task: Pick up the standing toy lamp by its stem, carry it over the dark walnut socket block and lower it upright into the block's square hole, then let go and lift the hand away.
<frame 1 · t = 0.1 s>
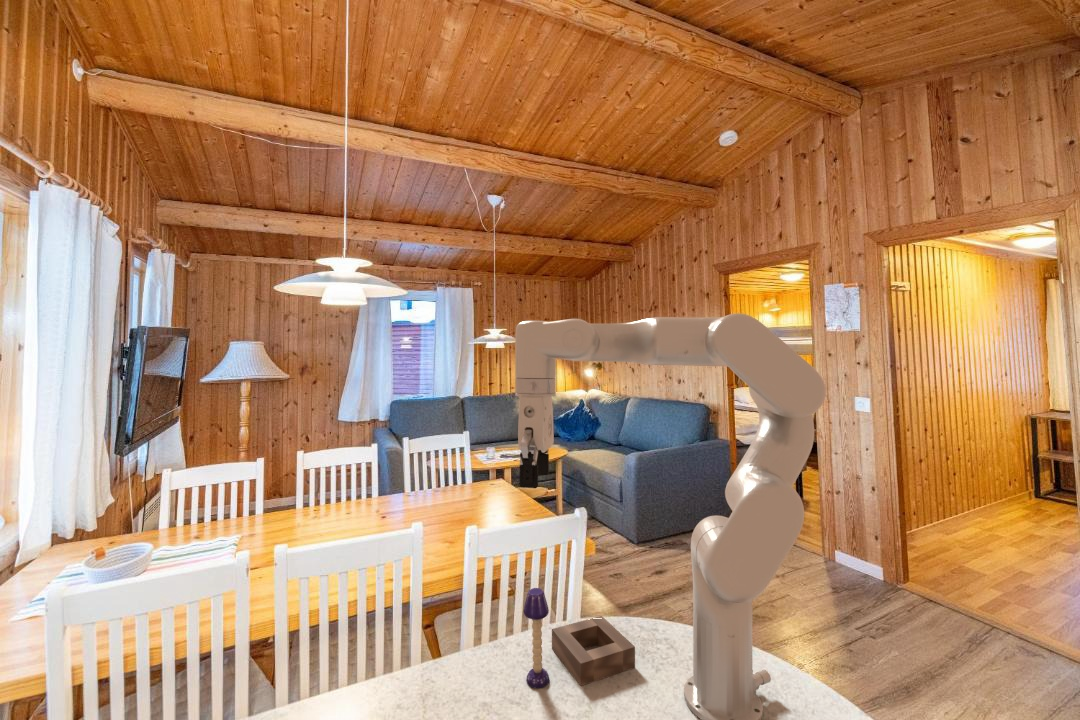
hand: (534, 480, 85), 37 cm above the table, tool pointing down, fingers open, 9 cm apart
toy lamp: (536, 682, 85), on the table
socket block: (592, 657, 92), on the table
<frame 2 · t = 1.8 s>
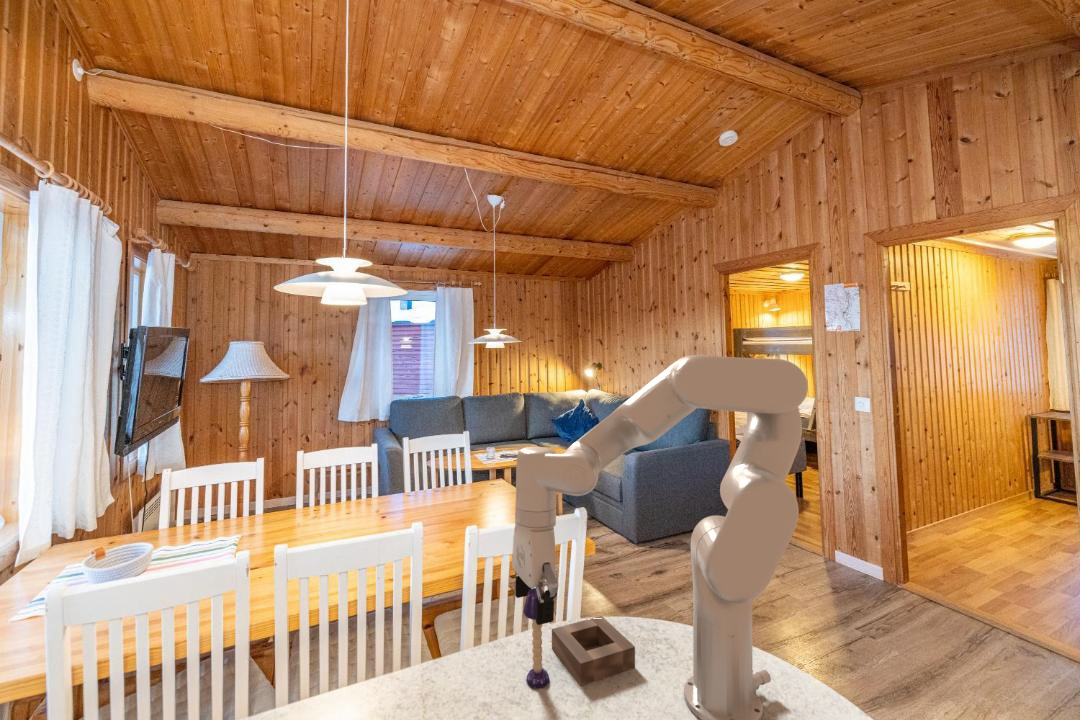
hand: (533, 608, 85), 14 cm above the table, tool pointing down, fingers open, 9 cm apart
nothing on the table moved.
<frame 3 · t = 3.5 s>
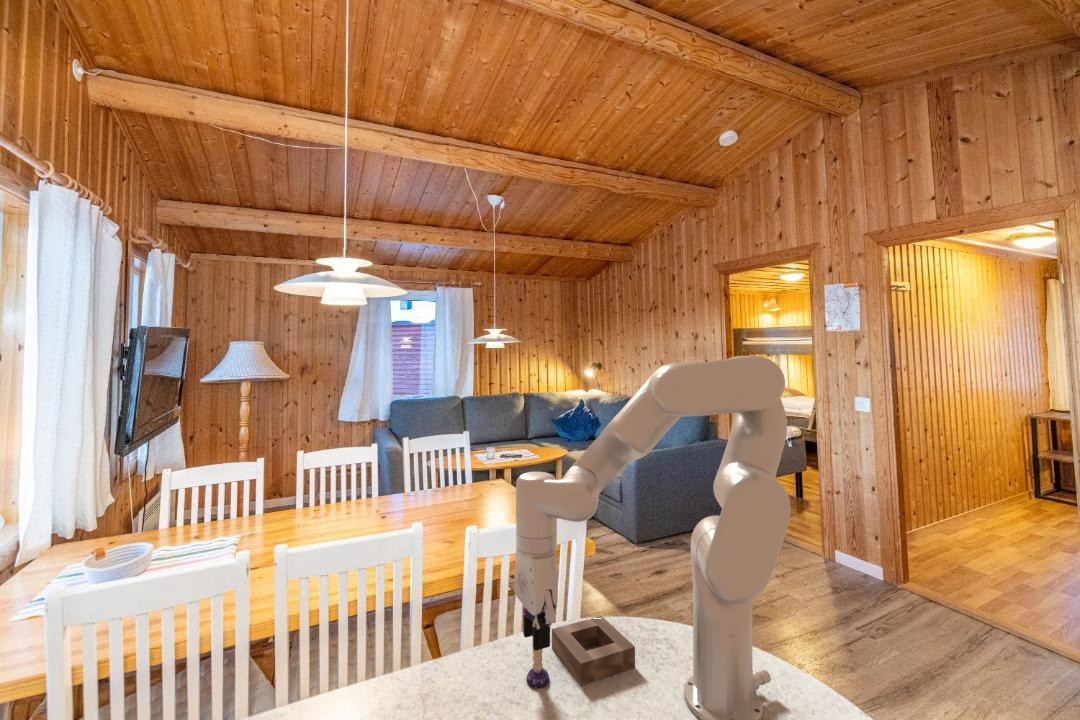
hand: (536, 640, 85), 8 cm above the table, tool pointing down, fingers closed on toy lamp, 3 cm apart
toy lamp: (536, 682, 85), on the table, touching gripper
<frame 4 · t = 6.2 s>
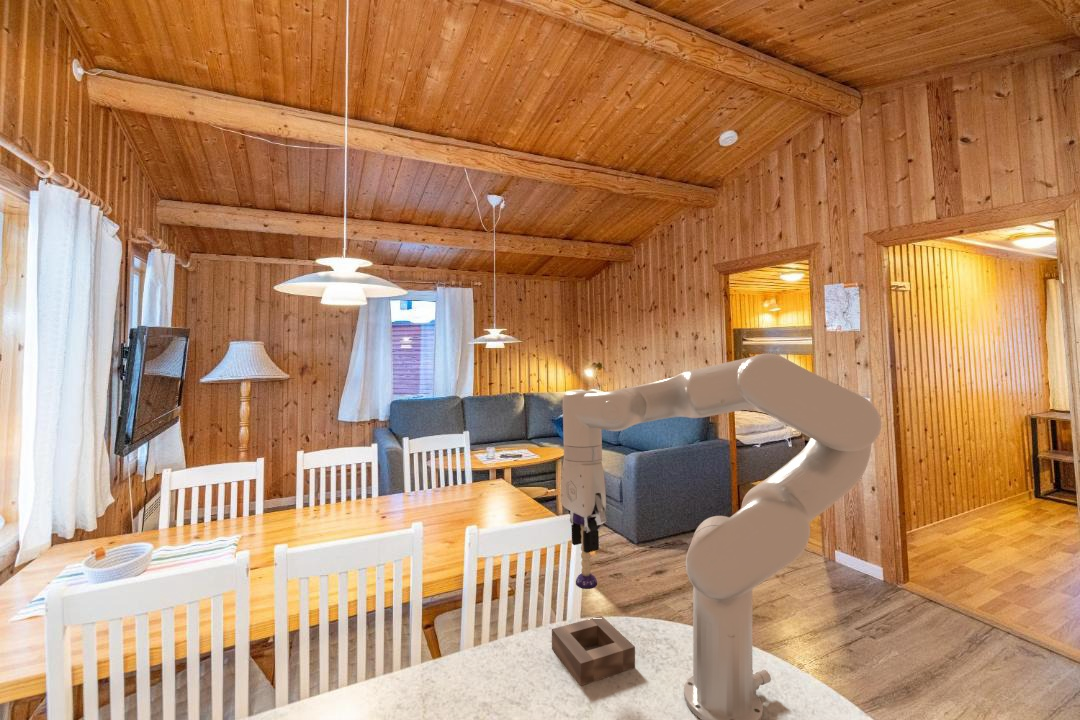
hand: (585, 546, 91), 23 cm above the table, tool pointing down, fingers closed on toy lamp, 3 cm apart
toy lamp: (585, 585, 91), point 15 cm above the table, touching gripper
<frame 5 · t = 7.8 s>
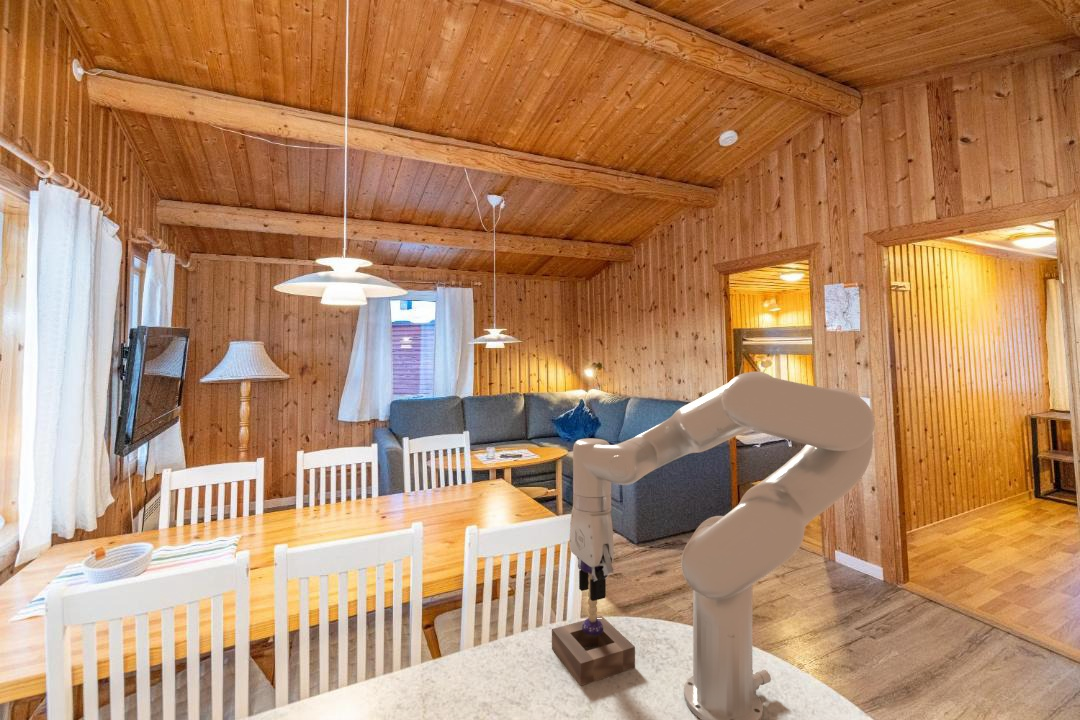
hand: (592, 593, 92), 13 cm above the table, tool pointing down, fingers closed on toy lamp, 3 cm apart
toy lamp: (591, 630, 93), point 5 cm above the table, touching gripper
when the fingers open (9 cm above the table, at t = 9.2 s): toy lamp drops 1 cm, resting in socket block.
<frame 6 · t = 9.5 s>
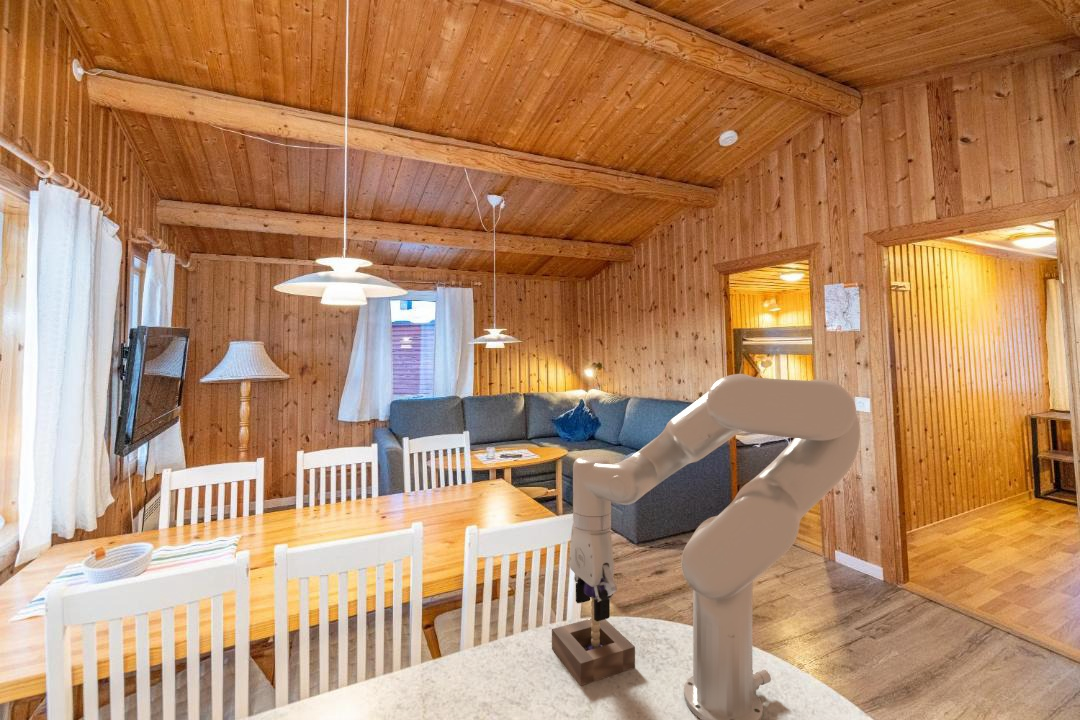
hand: (592, 609, 92), 10 cm above the table, tool pointing down, fingers open, 6 cm apart
toy lamp: (594, 656, 93), resting in socket block
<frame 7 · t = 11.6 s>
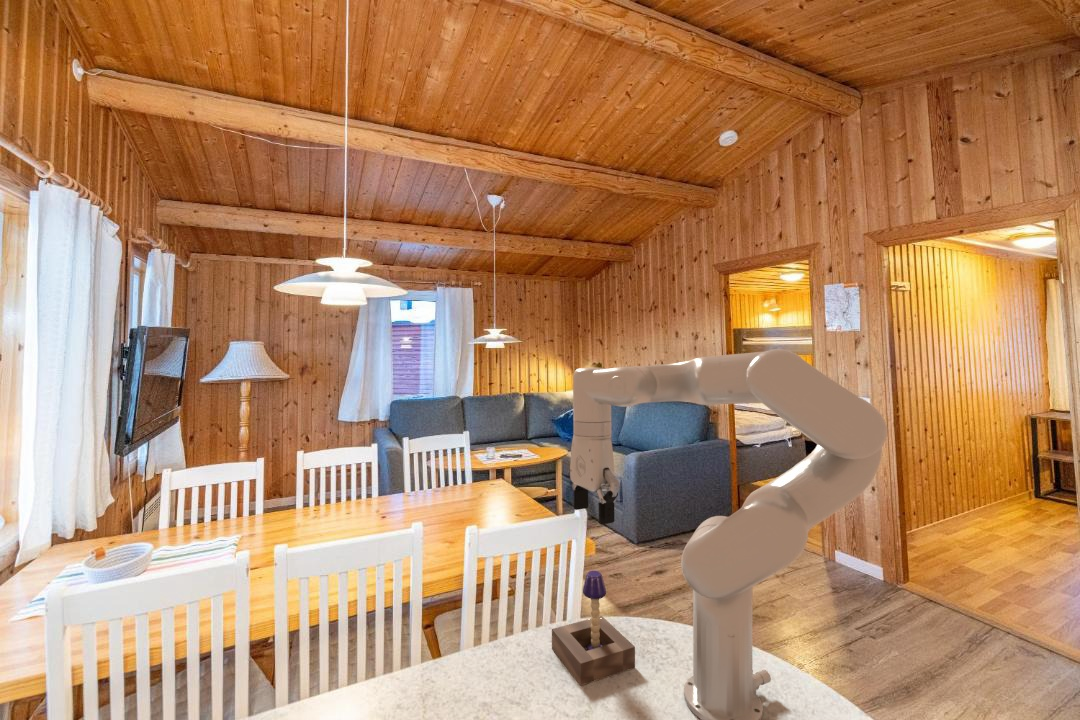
hand: (593, 515, 92), 28 cm above the table, tool pointing down, fingers open, 9 cm apart
nothing on the table moved.
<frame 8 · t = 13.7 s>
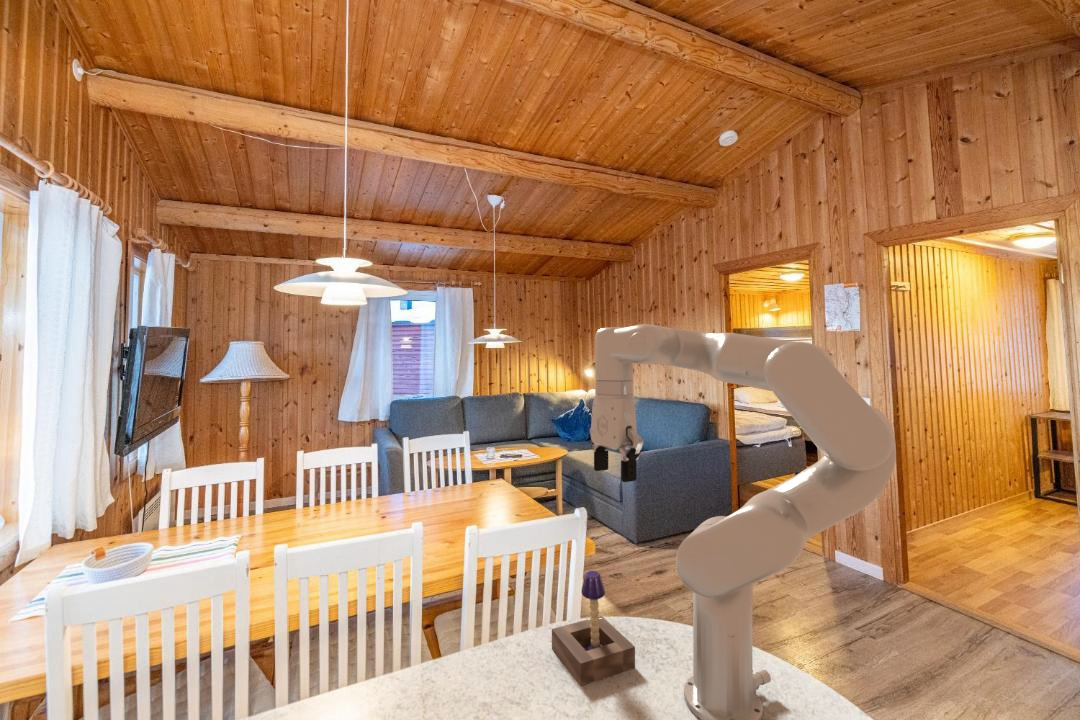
hand: (614, 475, 92), 36 cm above the table, tool pointing down, fingers open, 9 cm apart
nothing on the table moved.
at the end: toy lamp 0.9 cm off-centre on the socket block, point 0.0 cm above the socket block's base; toy lamp tilted 2°; the gripper is holding nothing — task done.
